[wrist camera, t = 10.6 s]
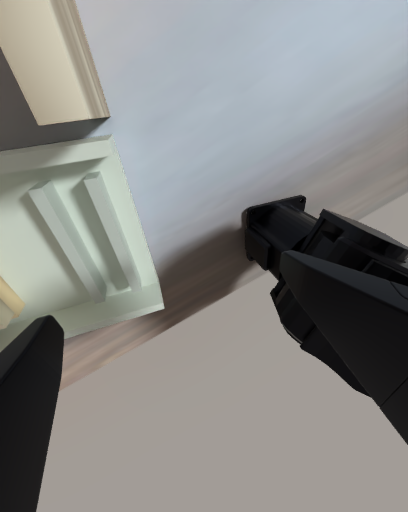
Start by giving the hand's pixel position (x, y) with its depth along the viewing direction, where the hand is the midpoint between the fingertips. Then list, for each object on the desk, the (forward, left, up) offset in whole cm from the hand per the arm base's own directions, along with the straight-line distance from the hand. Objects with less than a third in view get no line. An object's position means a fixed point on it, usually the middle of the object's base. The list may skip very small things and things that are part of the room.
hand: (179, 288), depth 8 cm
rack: (+11, +2, -12) cm, 16 cm away
